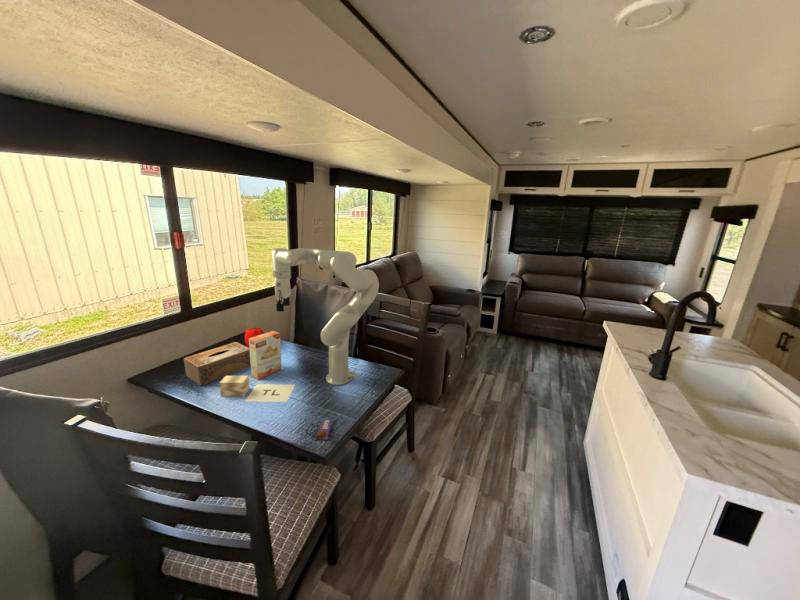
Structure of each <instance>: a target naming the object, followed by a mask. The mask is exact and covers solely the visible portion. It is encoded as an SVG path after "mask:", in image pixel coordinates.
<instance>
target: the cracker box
mask: <svg viewBox="0 0 800 600" xmlns="http://www.w3.org/2000/svg"><path fill="white" fill-rule="evenodd" d="M248 348H249V349H250V362H251V366H250V372H251V377H252V378H254V379H256V380H261V379H263V378H265V377H267V376H270V375H272V374H275V373H277V372H278V371H280V370H282V349H281V348H282V347H281V333H280V332H278V331H275V330H272V331H268V332H264V334H261V335H258V336H255V337H252V338H249V347H248Z"/></svg>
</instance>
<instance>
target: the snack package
mask: <svg viewBox="0 0 800 600" xmlns="http://www.w3.org/2000/svg"><path fill="white" fill-rule="evenodd" d="M335 421H336V419H332V418H323V419H322V422H321V424H320V427H319V429H318V430H317V433H316V436H315V437H314V439H316V440H329V435H330V432H331V430H332V427H333V425H334V423H335Z"/></svg>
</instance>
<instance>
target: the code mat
mask: <svg viewBox="0 0 800 600" xmlns="http://www.w3.org/2000/svg"><path fill="white" fill-rule="evenodd" d="M295 386H296V384H285V383H284V384H283V383H282V384H278V383H277V384H276V383H275V384H272V383H270V384H269V383H267V384H266V383H265V384H262V383H260V384H259V383H257V384H256V385H255V386H254V388H253V389H252V391H251V392H250V393H249V395H248V396H247V397H246V398H245V400H244V402H260V403H261V402H263V403H264V402H265V403H266V402H271V403H273V402H274V403H275V402H279V403H280V402H281V403H283V402H284V403H287V402H288V401H289V398H290V397H291V394H292V392H293V390H294V388H295Z"/></svg>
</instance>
